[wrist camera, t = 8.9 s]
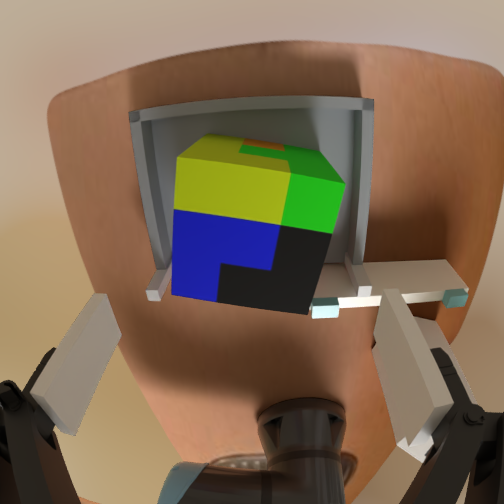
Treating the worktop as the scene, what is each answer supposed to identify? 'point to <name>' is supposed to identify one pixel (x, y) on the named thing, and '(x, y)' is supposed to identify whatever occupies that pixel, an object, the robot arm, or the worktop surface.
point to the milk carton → (433, 340)
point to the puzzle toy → (252, 222)
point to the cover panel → (388, 285)
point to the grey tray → (265, 129)
